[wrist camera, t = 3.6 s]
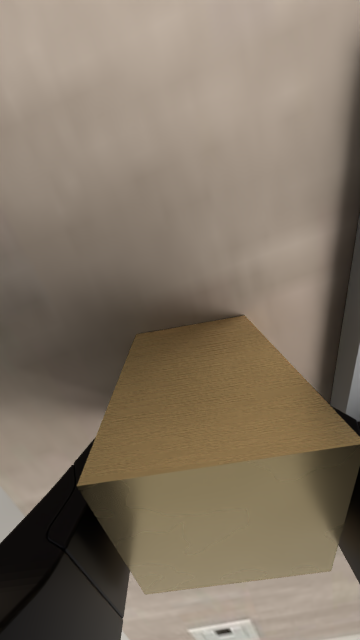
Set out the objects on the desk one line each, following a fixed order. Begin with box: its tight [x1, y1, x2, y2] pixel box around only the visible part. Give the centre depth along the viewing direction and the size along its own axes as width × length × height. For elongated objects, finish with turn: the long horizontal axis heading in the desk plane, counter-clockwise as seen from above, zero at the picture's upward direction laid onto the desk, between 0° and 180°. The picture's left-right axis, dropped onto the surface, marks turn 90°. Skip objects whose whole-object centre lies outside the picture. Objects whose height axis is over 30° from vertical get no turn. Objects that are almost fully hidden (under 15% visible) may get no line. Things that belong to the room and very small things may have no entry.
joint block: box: [77, 315, 360, 594], centre depth 7 cm, size 5×5×6 cm
